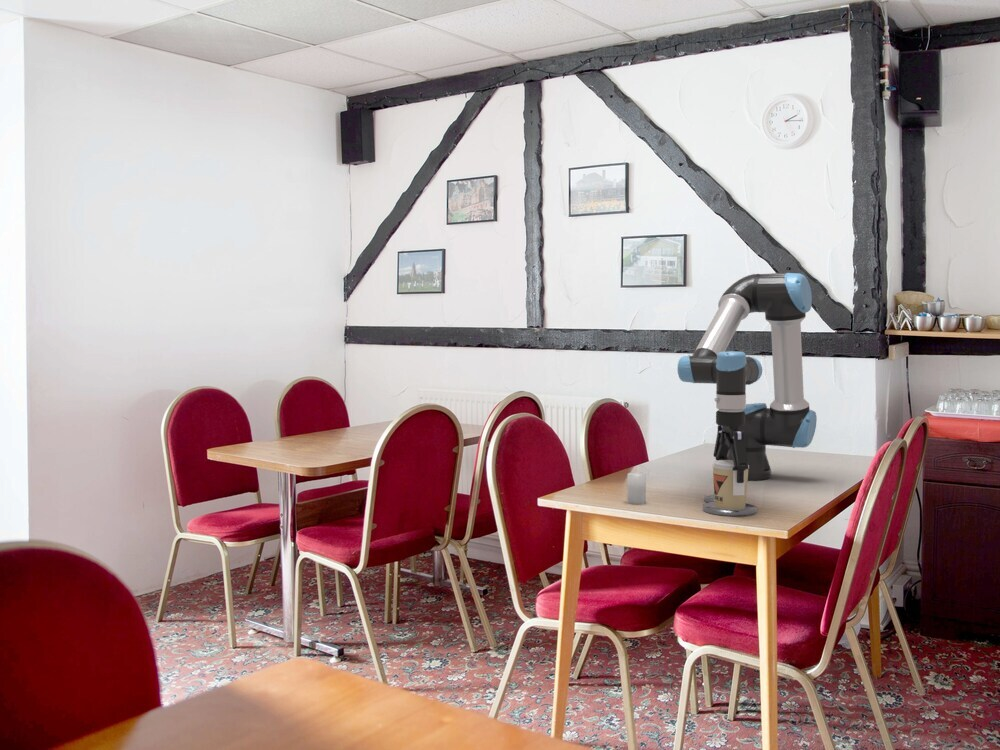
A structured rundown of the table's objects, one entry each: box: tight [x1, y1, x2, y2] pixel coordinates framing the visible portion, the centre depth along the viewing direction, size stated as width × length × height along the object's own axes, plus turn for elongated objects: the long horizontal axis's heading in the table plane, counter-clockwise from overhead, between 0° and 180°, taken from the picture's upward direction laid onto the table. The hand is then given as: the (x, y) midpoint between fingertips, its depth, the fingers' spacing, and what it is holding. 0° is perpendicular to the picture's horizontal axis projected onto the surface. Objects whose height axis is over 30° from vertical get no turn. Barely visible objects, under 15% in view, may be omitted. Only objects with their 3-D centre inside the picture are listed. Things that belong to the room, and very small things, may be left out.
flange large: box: [702, 502, 758, 517], centre depth 245 cm, size 14×14×1 cm
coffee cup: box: [712, 460, 749, 511], centre depth 243 cm, size 9×9×12 cm
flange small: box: [703, 494, 715, 503], centre depth 257 cm, size 8×8×1 cm
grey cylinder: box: [627, 471, 647, 505], centre depth 256 cm, size 5×5×8 cm
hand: (729, 489), depth 245 cm, fingers open, 13 cm apart
